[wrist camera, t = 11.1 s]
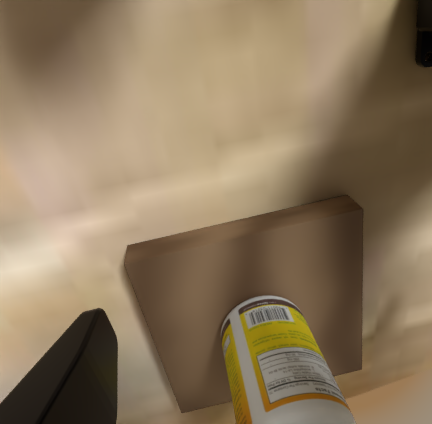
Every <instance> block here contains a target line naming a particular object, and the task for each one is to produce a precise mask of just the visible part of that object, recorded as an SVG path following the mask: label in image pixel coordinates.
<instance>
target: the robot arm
mask: <svg viewBox="0 0 432 424" xmlns="http://www.w3.org/2000/svg"><path fill="white" fill-rule="evenodd" d="M416 26H417V28H418V31H417V45H416V63H417V65H419V66H420V67H432V0H418V10H417V25H416ZM428 52H429V58H428V59H427V61H425V56H426V54H427V53H428ZM117 358H118V344H117V337H116V334H115V332H114V330H113V328H112V325H111V323H110V321H109V319H108V317H107V315H106V313H105V311H104V310H103V309H101V308H97V309H93V310H89V311H85V312H83V313H82V314H80V315H79V317H78V318H77V319H76V320H75V321H74V322H73V323H72V324H71V326H70V327H69V328H68V329H67V330H66V331H65V332H64V333H63V334H62V336H61V337H60V338H59V339H58V340H57V341H56V342H55V343H54V344H53V346H52V347H51V348H50V349H49V350H48V351H47V352H46V353H45V354H44V356H43V357H42V358H41V359H40V360H39V361H38V362H37V363H36V365H35V366H34V367H33V368H32V369H31V370H30V371H29V372H28V373H27V375H26V376H25V377H24V378H23V379H22V380H21V381H20V382H19V383H18V385H17V386H16V387H15V388H14V389H13V390H12V391H11V392H10V393H9V395H8V396H7V397H6V398H5V399H4V400H3V401H2V402H1V403H0V424H116V419H117Z"/></svg>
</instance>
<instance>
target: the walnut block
mask: <svg viewBox="0 0 432 424" xmlns="http://www.w3.org/2000/svg"><path fill="white" fill-rule="evenodd" d="M124 265H125V268H126V270H127V273H128V275H129V278H130V281H131V283H132V286H133V288H134V291H135V294H136V296H137V299H138V301H139V304H140V306H141V309H142V312H143V314H144V317H145V319H146V322H147V325H148V327H149V330H150V332H151V335H152V338H153V340H154V343H155V345H156V348H157V351H158V353H159V356H160V358H161V361H162V364H163V366H164V369H165V371H166V374H167V377H168V379H169V382H170V384H171V387H172V389H173V392H174V395H175V397H176V400H177V402H178V405H179V408H180V410H181V413H185V412H189V411H193V410H197V409H201V408H205V407H209V406H214V405H218V404H222V403H226V402H230V401H232V396H231V390H230V385H229V380H228V374H227V369H226V364H225V358H224V353H223V348H222V342H221V329H222V325H223V323H224V320H225V318H226V317H227V315H228V314H229V313H230V312H231V311H232V310H233V309H234V308H235V307H236V306H237V305H239V304H240V303H242V302H244V301H246V300H248V299H251V298H254V297H258V296H267V295H271V296H278V297H282V298H285V299H287V300H289V301H290V302H292V303H293V304H295V305H296V306H297V307H298V309H299V310H300V311H301V313H302V314H303V316H304V318H305V321H306V322H307V324H308V326H309V329H310V331H311V333H312V335H313V337H314V339H315V341H316V343H317V345H318V347H319V349H320V351H321V353H322V355H323V357H324V359H325V361H326V363H327V365H328V367H329V369H330V371H331V373H332V375H333V376H337V375H341V374H345V373H349V372H353V371H357V370H362V282H363V208H361V207H360V206H359V205H358V204H357V203H356V202H355V201H354V200H352V199H351V198H350V197H349V196H348V195H344V196H340V197H336V198H331V199H327V200H323V201H318V202H314V203H310V204H305V205H301V206H297V207H292V208H288V209H284V210H279V211H275V212H271V213H266V214H262V215H258V216H253V217H249V218H245V219H240V220H236V221H232V222H227V223H223V224H219V225H214V226H210V227H205V228H201V229H197V230H192V231H188V232H184V233H179V234H175V235H171V236H166V237H162V238H158V239H153V240H149V241H145V242H140V243H136V244H132V245H128V246H127V252H126V257H125V263H124Z"/></svg>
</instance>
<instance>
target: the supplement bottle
mask: <svg viewBox="0 0 432 424" xmlns="http://www.w3.org/2000/svg"><path fill="white" fill-rule="evenodd" d="M221 342H222V348H223V353H224V358H225V364H226V369H227V374H228V380H229V385H230V390H231V396H232V401H233V406H234V412H235V417H236V423H237V424H356V422H355V420H354V417H353V415H352V413H351V411H350V409H349V407H348V405H347V403H346V401H345V399H344V397H343V395H342V393H341V391H340V389H339V387H338V385H337V383H336V381H335V379H334V377H333V375H332V373H331V371H330V369H329V367H328V365H327V363H326V361H325V359H324V357H323V355H322V353H321V351H320V349H319V347H318V345H317V343H316V341H315V339H314V337H313V335H312V333H311V331H310V329H309V326H308V324H307V322H306V321H305V318H304V316H303V314H302V313H301V311H300V310H299V309H298V307H297V306H296V305H295V304H293V303H292V302H290V301H289V300H287V299H285V298H282V297H278V296H271V295H267V296H258V297H254V298H251V299H248V300H246V301H244V302H242V303H240V304H239V305H237V306H236V307H235V308H234V309H233V310H232V311H231V312H230V313H229V314H228V315H227V317H226V318H225V320H224V323H223V325H222V329H221Z"/></svg>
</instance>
